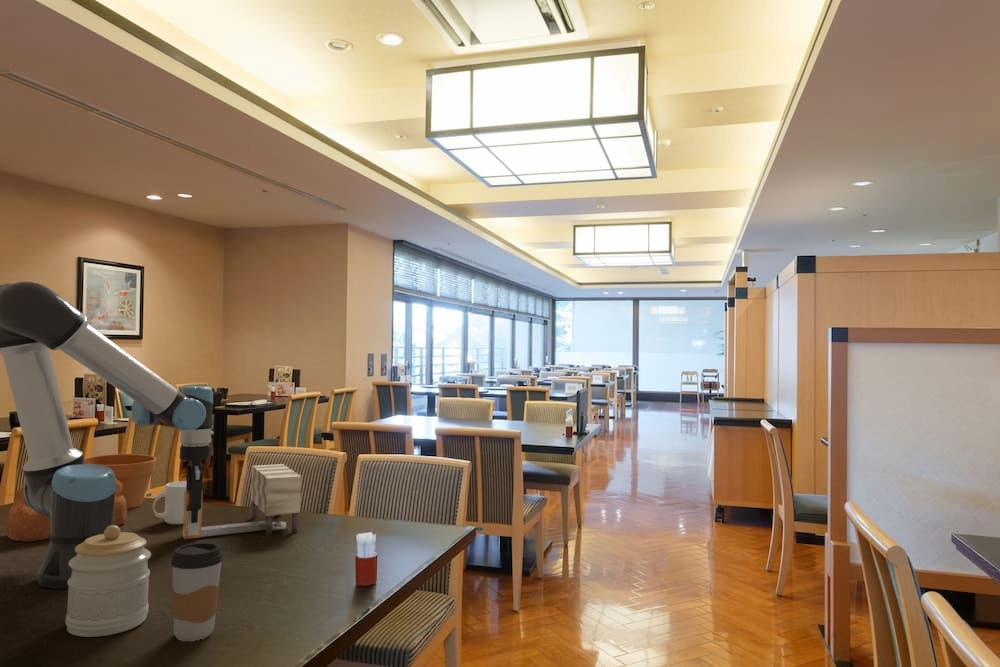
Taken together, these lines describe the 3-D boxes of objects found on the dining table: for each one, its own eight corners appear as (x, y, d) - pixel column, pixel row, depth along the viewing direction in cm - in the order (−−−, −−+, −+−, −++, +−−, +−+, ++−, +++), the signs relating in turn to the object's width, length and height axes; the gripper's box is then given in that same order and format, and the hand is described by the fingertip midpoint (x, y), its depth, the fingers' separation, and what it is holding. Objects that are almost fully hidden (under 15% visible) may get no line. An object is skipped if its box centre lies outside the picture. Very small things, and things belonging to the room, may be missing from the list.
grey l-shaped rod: (267, 529, 183) (268, 486, 183) (184, 539, 172) (186, 493, 172) (264, 526, 186) (265, 483, 187) (182, 535, 176) (184, 490, 176)
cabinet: (299, 532, 182) (301, 476, 183) (265, 536, 178) (267, 478, 178) (280, 514, 201) (282, 464, 202) (249, 517, 197) (252, 465, 197)
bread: (131, 525, 185) (133, 470, 186) (21, 545, 164) (24, 483, 164) (108, 517, 193) (111, 464, 194) (0, 535, 172) (3, 476, 172)
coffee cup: (205, 620, 122) (209, 539, 122) (228, 634, 116) (232, 548, 117) (159, 634, 115) (163, 548, 116) (181, 649, 110) (185, 558, 110)
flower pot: (169, 502, 214) (171, 456, 214) (115, 516, 193) (118, 466, 194) (117, 496, 219) (119, 452, 220) (59, 510, 199) (62, 461, 200)
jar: (161, 610, 126) (165, 517, 127) (124, 639, 113) (129, 535, 114) (92, 609, 126) (96, 516, 126) (47, 638, 113) (53, 534, 113)
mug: (147, 522, 189) (148, 484, 189) (190, 515, 197) (192, 480, 197) (156, 528, 182) (158, 489, 183) (201, 521, 191) (203, 484, 191)
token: (287, 530, 185) (288, 524, 185) (269, 532, 183) (269, 526, 183) (283, 526, 190) (284, 520, 190) (265, 528, 187) (266, 522, 187)
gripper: (215, 447, 170) (212, 538, 170) (206, 439, 185) (203, 523, 184) (183, 449, 166) (179, 542, 166) (177, 440, 181) (173, 526, 180)
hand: (192, 532), depth 175 cm, fingers closed on grey l-shaped rod, 4 cm apart
